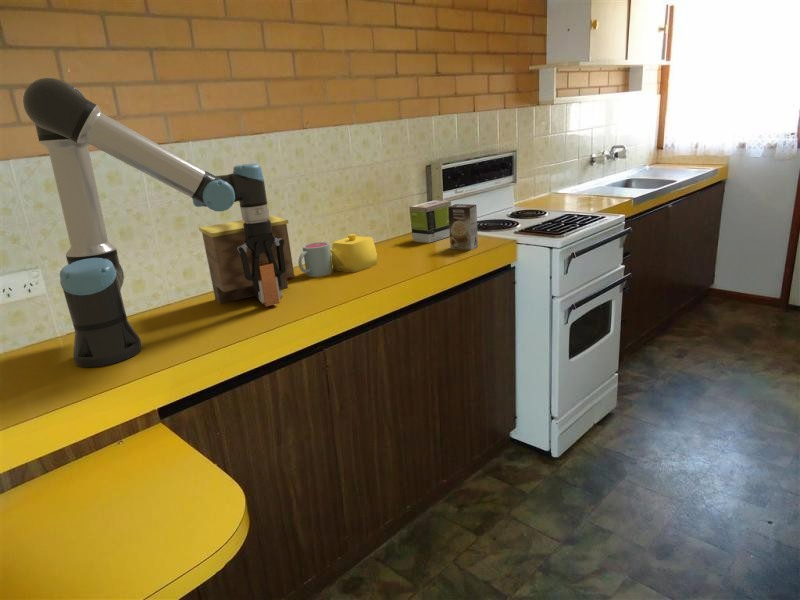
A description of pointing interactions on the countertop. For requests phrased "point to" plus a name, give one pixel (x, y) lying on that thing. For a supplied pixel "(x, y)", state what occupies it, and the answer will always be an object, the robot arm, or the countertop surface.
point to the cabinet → (239, 258)
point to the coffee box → (463, 226)
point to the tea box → (430, 221)
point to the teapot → (353, 253)
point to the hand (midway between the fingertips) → (270, 299)
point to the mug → (316, 259)
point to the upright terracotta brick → (268, 284)
